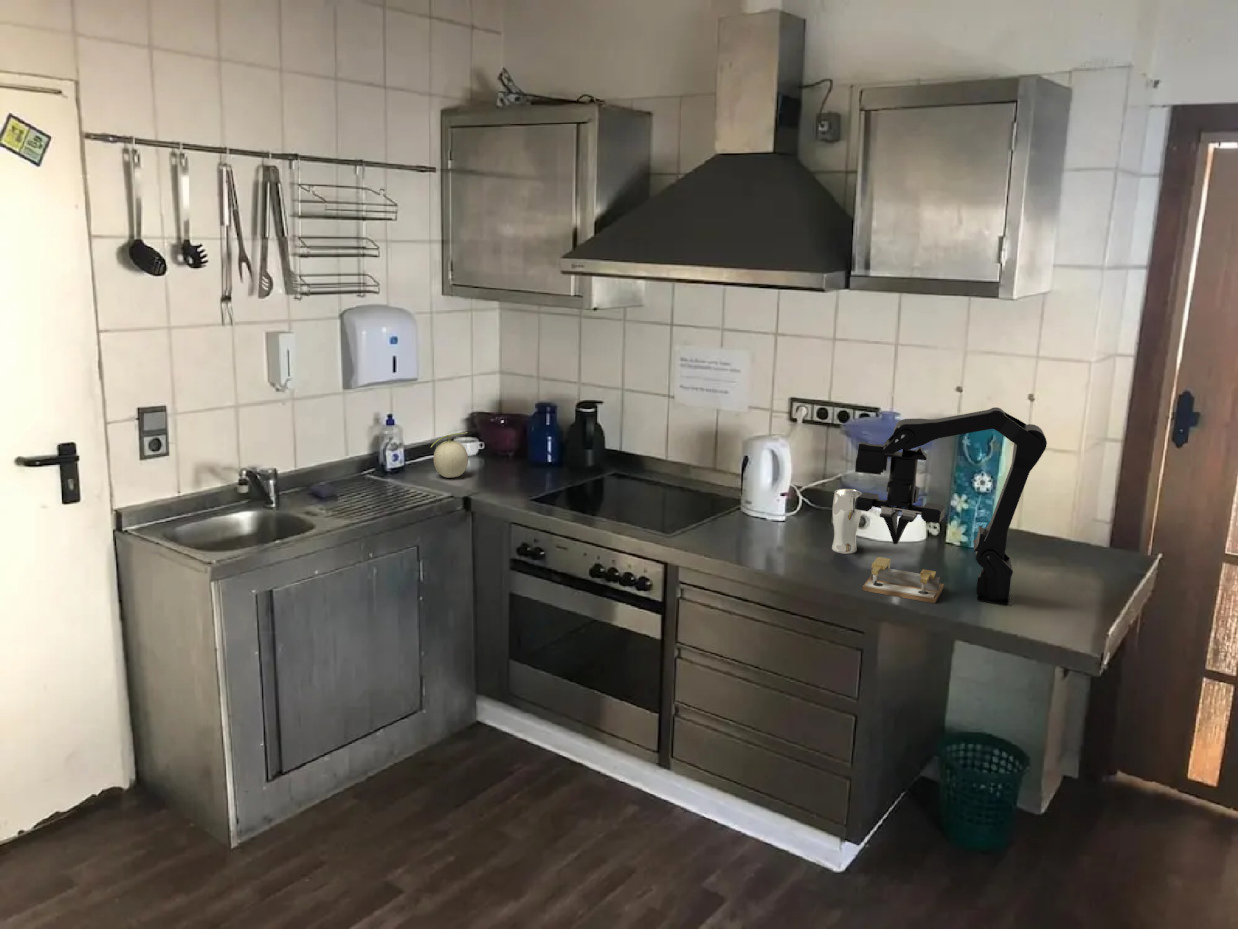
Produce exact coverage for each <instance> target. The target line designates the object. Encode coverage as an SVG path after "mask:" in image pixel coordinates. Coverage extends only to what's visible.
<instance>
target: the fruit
mask: <svg viewBox="0 0 1238 929" xmlns="http://www.w3.org/2000/svg"><path fill="white" fill-rule="evenodd" d="M464 434H468V431H465V432H455V433H450V434H445V435H444V436H441V437H440V438H439V439H437V440H436V441H434V442H433V443H432V444H431V446H430V448H431V449H432V448H433V446H434V445H435V444H436V443H437V442H439V441H440V440H443V439H445V438H447V441H446V440H445V441H443V442H441V443H440V444H438V446H436V448H435V450H434V452H433V465H434V468H435V470H436V471H437V473H438V474H440V476H442V477H444V478H448V479H449V478H450V479H451V478H452V479H453V478H458V477H461V475H463V473H464V472H465V471H466V470H467V467H468V464H469V456H468V453H467V452H468V451H467V449H466V448H465V445H463V444H462V443H460V442H459V441H457V440H452V439H451V437H453V436H457V435H464Z"/></svg>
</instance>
